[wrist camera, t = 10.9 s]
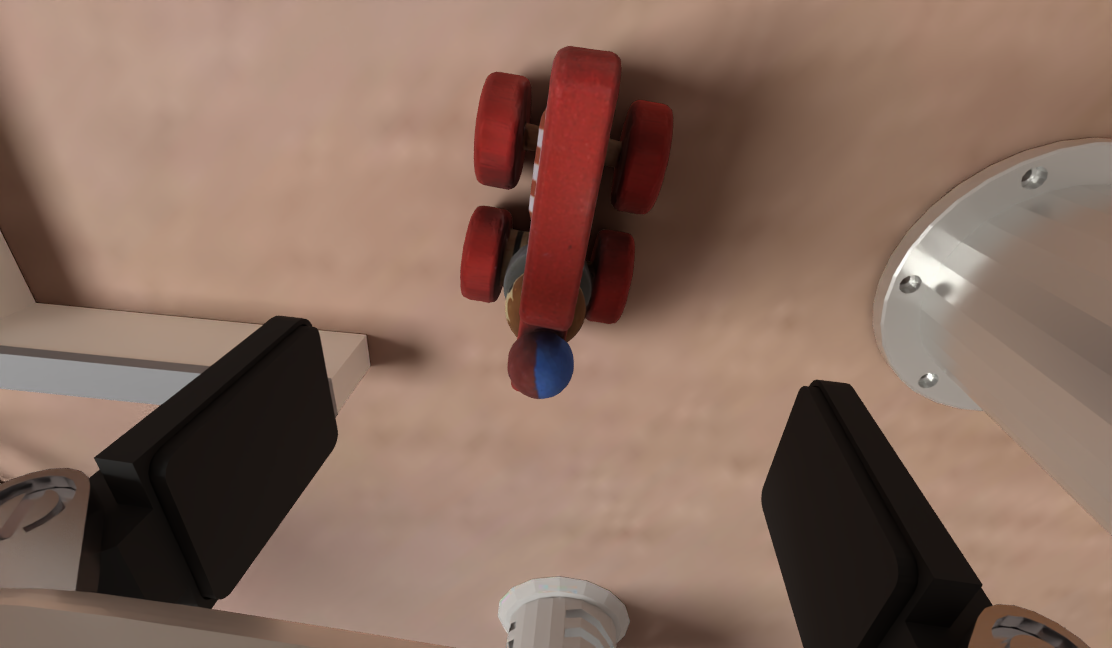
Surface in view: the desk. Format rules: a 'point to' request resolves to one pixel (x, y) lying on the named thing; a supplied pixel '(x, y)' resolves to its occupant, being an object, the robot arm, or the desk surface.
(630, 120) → the toy fire truck
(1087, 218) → the robot arm
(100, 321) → the white u-shaped wall
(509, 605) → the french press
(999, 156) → the desk surface
